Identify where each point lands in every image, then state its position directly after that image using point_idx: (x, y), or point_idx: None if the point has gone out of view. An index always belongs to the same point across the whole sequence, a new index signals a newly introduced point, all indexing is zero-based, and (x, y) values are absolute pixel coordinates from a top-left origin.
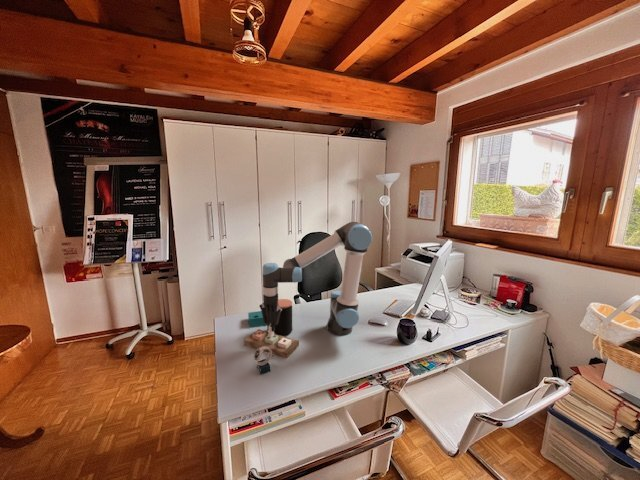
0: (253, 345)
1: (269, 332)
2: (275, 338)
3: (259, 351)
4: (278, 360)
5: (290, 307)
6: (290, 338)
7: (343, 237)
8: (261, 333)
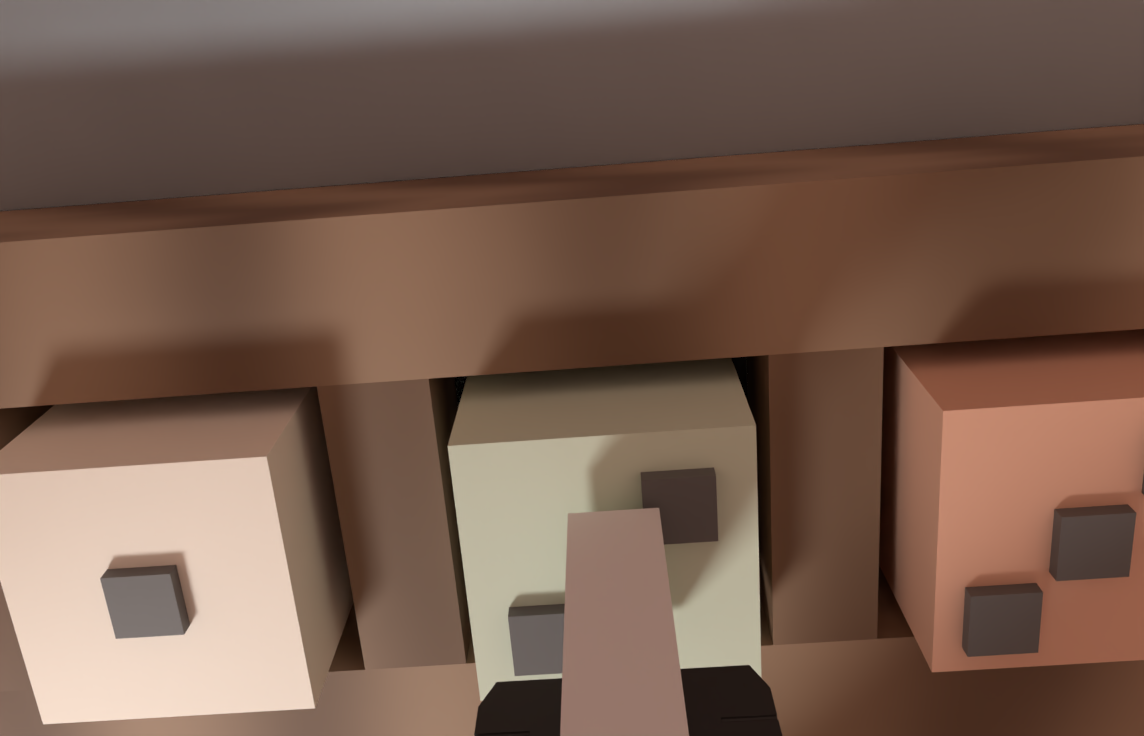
0: (983, 150)
1: (629, 608)
2: (465, 574)
3: None
4: (47, 65)
5: None
6: None
7: None
8: (1022, 575)
